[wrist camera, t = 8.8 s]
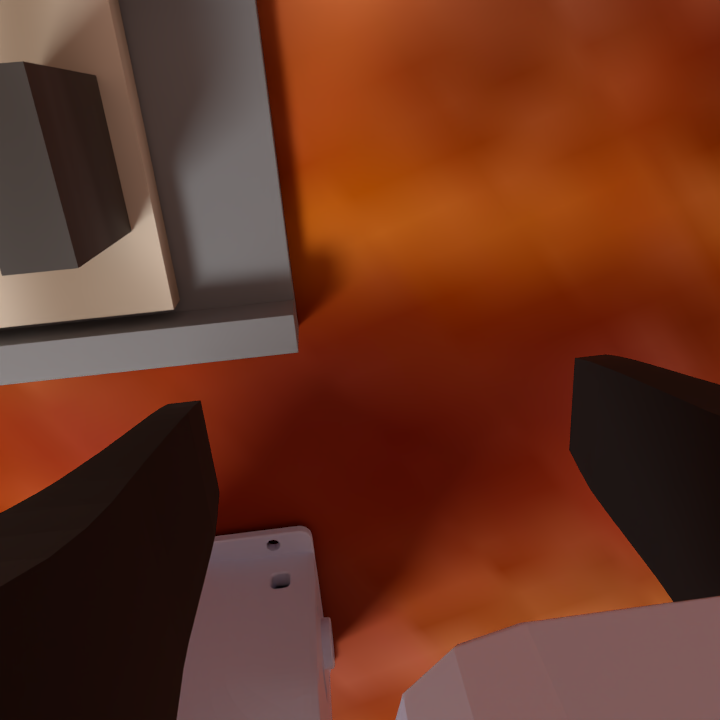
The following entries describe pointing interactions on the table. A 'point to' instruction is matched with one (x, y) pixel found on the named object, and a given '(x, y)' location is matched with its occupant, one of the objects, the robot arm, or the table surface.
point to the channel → (192, 206)
